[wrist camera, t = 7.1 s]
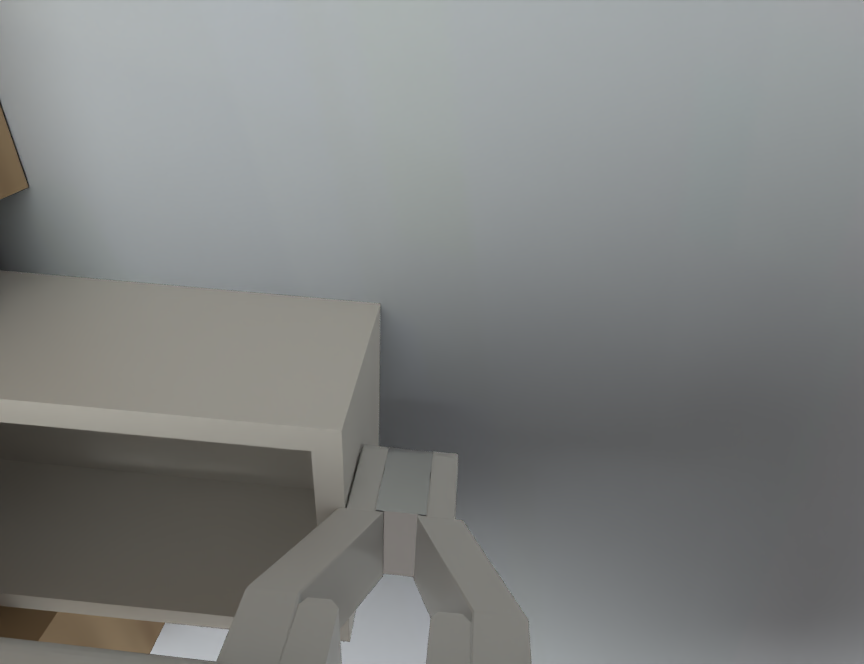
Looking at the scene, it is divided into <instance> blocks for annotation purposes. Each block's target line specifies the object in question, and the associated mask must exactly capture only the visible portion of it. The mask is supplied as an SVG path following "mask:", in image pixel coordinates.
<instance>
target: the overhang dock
mask: <svg viewBox="0 0 864 664" xmlns="http://www.w3.org/2000/svg"><path fill="white" fill-rule="evenodd" d="M26 188H28V184H27V181H26V178H25V176H24V173H23V170H22V167H21V164H20V161H19V158H18V155H17V152H16V150H15V147H14V144H13V141H12V138H11V135H10V132H9V129H8V126H7V123H6V121H5V118H4V115H3V112H2V109H1V106H0V199H3V198H5V197H7V196H10V195H12V194H14V193H16V192H19V191H21V190H23V189H26ZM164 624H165V623H163V622H153V621H143V620H133V619H124V618H114V617H104V616H94V615H85V614H75V613H65V612H55V611H46V610H36V609H26V608H16V607H7V606H0V637H6V638H15V639H24V640H32V641H41V642H50V643H58V644H67V645H76V646H85V647H93V648H102V649H111V650H119V651H128V652H137V653H145V654H150V652H151V650H152V648H153V646H154V644H155V642H156V640H157V638H158V636H159V634H160V632H161V630H162V628H163V626H164Z"/></svg>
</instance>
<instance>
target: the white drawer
mask: <svg viewBox="0 0 864 664" xmlns="http://www.w3.org/2000/svg"><path fill="white" fill-rule="evenodd" d="M379 392H380V303H370V302H358V301H347V300H335V299H324V298H312V297H301V296H289V295H278V294H266V293H255V292H243V291H232V290H220V289H209V288H197V287H186V286H174V285H163V284H151V283H140V282H128V281H117V280H105V279H94V278H82V277H71V276H59V275H48V274H36V273H25V272H13V271H2V270H0V606H7V607H16V608H26V609H36V610H46V611H55V612H65V613H75V614H85V615H94V616H104V617H114V618H124V619H133V620H143V621H153V622H163V623H172V624H182V625H192V626H202V627H211V628H221V629H230V627H231V624H232V622H233V619H234V617H235V614H236V612H237V609H238V607H239V604H240V602H241V599H242V597H243V594H244V592H245V589H246V587H248V586H249V585H250V584H251V583H252V582H253V581H255V580H256V579H257V578H258V577H259V576H260V575H262V574H263V573H264V572H265V571H266V570H267V569H268V568H270V567H271V566H272V565H273V564H274V563H275V562H277V561H278V560H279V559H280V558H281V557H282V556H283V555H285V554H286V553H287V552H288V551H289V550H290V549H292V548H293V547H294V546H295V545H296V544H297V543H299V542H300V541H301V540H302V539H303V538H304V537H305V536H307V535H308V534H309V533H310V532H311V531H312V530H314V529H315V528H316V527H317V526H318V525H319V524H321V523H322V522H323V521H324V520H325V519H326V518H327V517H329V516H330V515H331V514H332V513H333V512H334V511H336V510H337V509H338V508H347V504H348V500H349V497H350V493H351V489H352V485H353V482H354V478H355V474H356V470H357V466H358V463H359V459H360V455H361V451H362V449H363V447H364V445H365V444H367V445H375V446H379ZM355 613H356V610H355V611H354V613H353V614H352V615H351V616H350V617H349V619H348V620H347V621H346V622H345V624H344V625H343V626H342V627H341V629H340V641H348V642H350V639H351V633H352V628H353V623H354V618H355Z"/></svg>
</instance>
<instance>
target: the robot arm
mask: <svg viewBox="0 0 864 664" xmlns="http://www.w3.org/2000/svg"><path fill="white" fill-rule="evenodd" d="M457 477H458V454H457V453H445V452H433V451H422V450H411V449H403V448H395V447H390V448H389V447H383V446H375V445H367V444H365V445H364V447H363V449H362V451H361V455H360V459H359V463H358V466H357V470H356V474H355V478H354V482H353V485H352V489H351V493H350V497H349V500H348V504H347V508H338V509H337V510H336V511H334V512H333V513H332V514H331V515H330V516H329V517H327V518H326V519H325V520H324V521H323V522H322V523H321V524H319V525H318V526H317V527H316V528H315V529H314V530H312V531H311V532H310V533H309V534H308V535H307V536H305V537H304V538H303V539H302V540H301V541H300V542H299V543H297V544H296V545H295V546H294V547H293V548H292V549H290V550H289V551H288V552H287V553H286V554H285V555H283V556H282V557H281V558H280V559H279V560H278V561H277V562H275V563H274V564H273V565H272V566H271V567H270V568H268V569H267V570H266V571H265V572H264V573H263V574H262V575H260V576H259V577H258V578H257V579H256V580H255V581H253V582H252V583H251V584H250V585H249V586H248V587H246V589H245V592H244V594H243V597H242V599H241V602H240V604H239V607H238V609H237V612H236V614H235V617H234V619H233V622H232V624H231V627H230V629H229V632H228V634H227V636H226V639H225V641H224V644H223V646H222V649H221V651H220V654H219V656H218V659H217V661H216V662H215V661H206V660H198V659H189V658H180V657H172V656H163V655H154V654H145V653H137V652H128V651H119V650H111V649H102V648H93V647H85V646H76V645H67V644H58V643H50V642H41V641H32V640H24V639H15V638H6V637H0V664H342V659H341V643H340V629H341V627H342V626H343V625H344V624H345V622H346V621H347V620H348V619H349V617H350V616H351V615H352V614H353V613H354V611H355V610H356V609H357V608H358V606H359V605H360V604H361V603H362V601H363V600H364V599H365V598H366V596H367V595H368V594H369V593H370V592H371V590H372V589H373V588H374V587H375V585H376V584H377V583H378V582H379V580H380V579H381V578H382V577H383V574H392V575H402V576H410V577H414V581H415V584H416V586H417V588H418V590H419V593H420V595H421V597H422V599H423V602H424V604H425V606H426V608H427V611H428V613H429V615H430V617H431V619H430V628H429V638H428V648H427V658H426V664H532V662H531V649H530V635H529V621H528V618H527V617H526V615H525V614H524V612H523V611H522V609H521V608H520V606H519V605H518V603H517V602H516V600H515V599H514V597H513V596H512V594H511V593H510V591H509V590H508V588H507V587H506V585H505V584H504V582H503V581H502V579H501V577H500V576H499V574H498V573H497V571H496V570H495V568H494V567H493V565H492V564H491V562H490V561H489V559H488V558H487V556H486V555H485V553H484V552H483V550H482V549H481V547H480V546H479V544H478V543H477V541H476V540H475V538H474V537H473V535H472V534H471V532H470V530H469V529H468V527H467V526H466V524H465V523H464V521H463V520H457V519H455V516H456V496H457Z"/></svg>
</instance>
